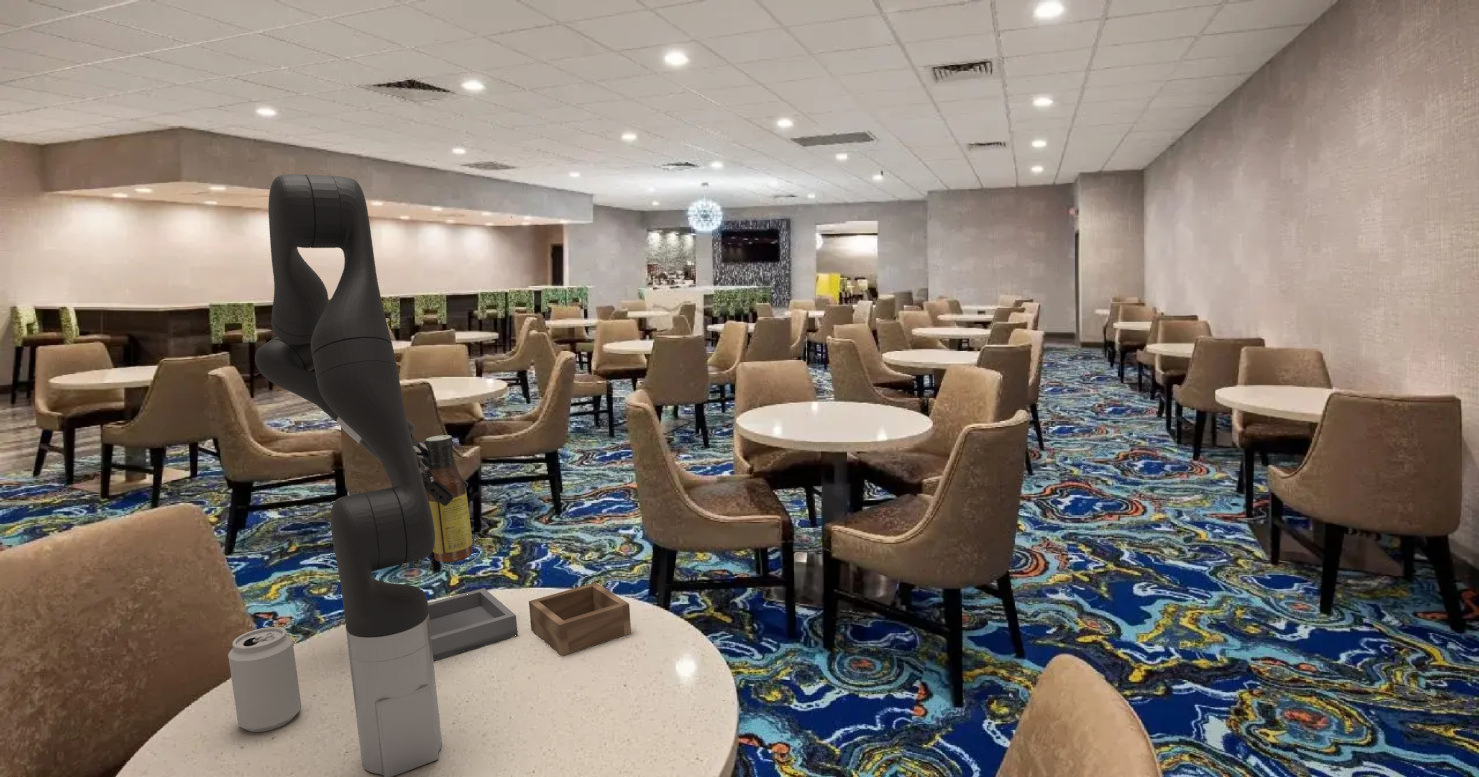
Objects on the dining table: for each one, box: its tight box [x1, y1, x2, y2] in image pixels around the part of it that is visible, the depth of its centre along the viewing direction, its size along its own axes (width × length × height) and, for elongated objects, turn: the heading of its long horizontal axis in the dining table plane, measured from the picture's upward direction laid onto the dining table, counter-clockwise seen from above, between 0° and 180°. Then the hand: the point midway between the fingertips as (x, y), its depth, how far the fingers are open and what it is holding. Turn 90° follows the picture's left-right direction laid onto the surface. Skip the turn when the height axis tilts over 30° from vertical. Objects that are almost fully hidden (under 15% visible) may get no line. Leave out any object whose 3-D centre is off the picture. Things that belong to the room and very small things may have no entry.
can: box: [227, 626, 302, 733], centre depth 110 cm, size 8×8×12 cm
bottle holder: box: [528, 582, 632, 657], centre depth 133 cm, size 12×12×5 cm
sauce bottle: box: [424, 434, 474, 563], centre depth 132 cm, size 6×6×20 cm
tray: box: [428, 587, 519, 662], centre depth 135 cm, size 15×15×4 cm
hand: (457, 495), depth 132 cm, fingers closed on sauce bottle, 6 cm apart
